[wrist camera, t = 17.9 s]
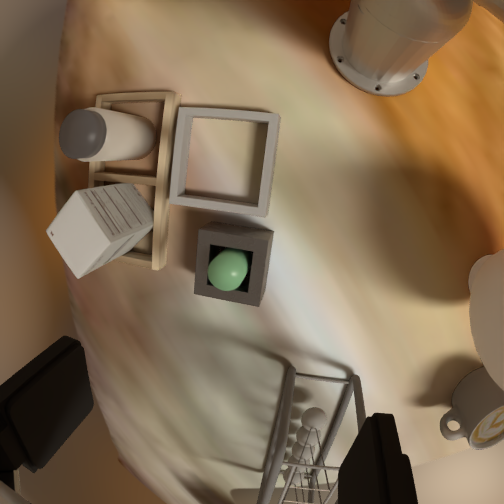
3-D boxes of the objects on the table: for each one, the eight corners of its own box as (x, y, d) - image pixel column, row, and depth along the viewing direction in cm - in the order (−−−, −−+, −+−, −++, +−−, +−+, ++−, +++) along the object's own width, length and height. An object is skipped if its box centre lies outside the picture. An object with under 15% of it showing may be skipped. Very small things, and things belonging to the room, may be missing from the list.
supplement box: (130, 252, 45) (76, 281, 33) (101, 212, 44) (43, 230, 32) (163, 221, 42) (111, 244, 30) (132, 179, 42) (74, 188, 30)
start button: (223, 240, 41) (209, 253, 35) (254, 245, 40) (245, 259, 35) (220, 270, 42) (206, 287, 36) (250, 276, 41) (241, 293, 36)
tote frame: (186, 110, 38) (179, 107, 36) (280, 117, 36) (278, 114, 34) (176, 201, 41) (168, 203, 39) (268, 214, 40) (265, 217, 37)
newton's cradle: (314, 480, 52) (307, 552, 35) (263, 473, 53) (246, 545, 36) (359, 368, 43) (373, 461, 26) (289, 359, 45) (274, 452, 28)
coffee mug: (504, 359, 39) (530, 394, 29) (494, 402, 41) (513, 437, 31) (436, 380, 42) (454, 421, 32) (430, 422, 44) (443, 462, 34)
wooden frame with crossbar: (106, 97, 39) (96, 95, 37) (181, 95, 37) (173, 91, 35) (97, 250, 46) (87, 254, 43) (166, 264, 44) (158, 270, 42)
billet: (121, 116, 40) (59, 107, 27) (159, 116, 39) (101, 103, 26) (117, 158, 41) (54, 162, 29) (154, 161, 40) (95, 163, 28)
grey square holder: (211, 221, 41) (198, 229, 36) (273, 231, 40) (268, 240, 35) (206, 279, 43) (194, 293, 39) (265, 290, 42) (259, 306, 38)
